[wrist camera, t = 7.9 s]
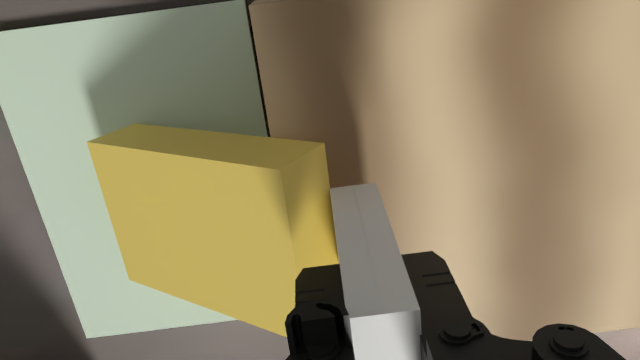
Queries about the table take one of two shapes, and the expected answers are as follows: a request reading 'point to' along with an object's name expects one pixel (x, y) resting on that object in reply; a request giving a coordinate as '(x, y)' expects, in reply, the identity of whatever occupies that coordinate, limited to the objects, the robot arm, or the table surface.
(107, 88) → the mat
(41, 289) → the table surface
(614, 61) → the deck
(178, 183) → the yellow sticky note pad
